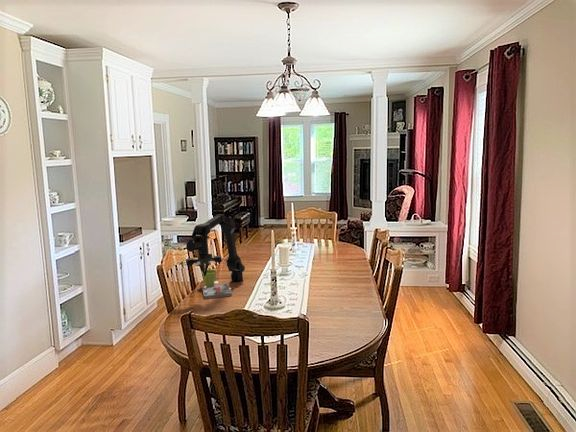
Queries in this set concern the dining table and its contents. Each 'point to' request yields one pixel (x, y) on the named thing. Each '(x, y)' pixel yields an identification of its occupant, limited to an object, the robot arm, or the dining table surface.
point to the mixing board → (211, 291)
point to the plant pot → (209, 277)
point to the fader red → (218, 289)
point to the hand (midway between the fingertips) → (204, 275)
